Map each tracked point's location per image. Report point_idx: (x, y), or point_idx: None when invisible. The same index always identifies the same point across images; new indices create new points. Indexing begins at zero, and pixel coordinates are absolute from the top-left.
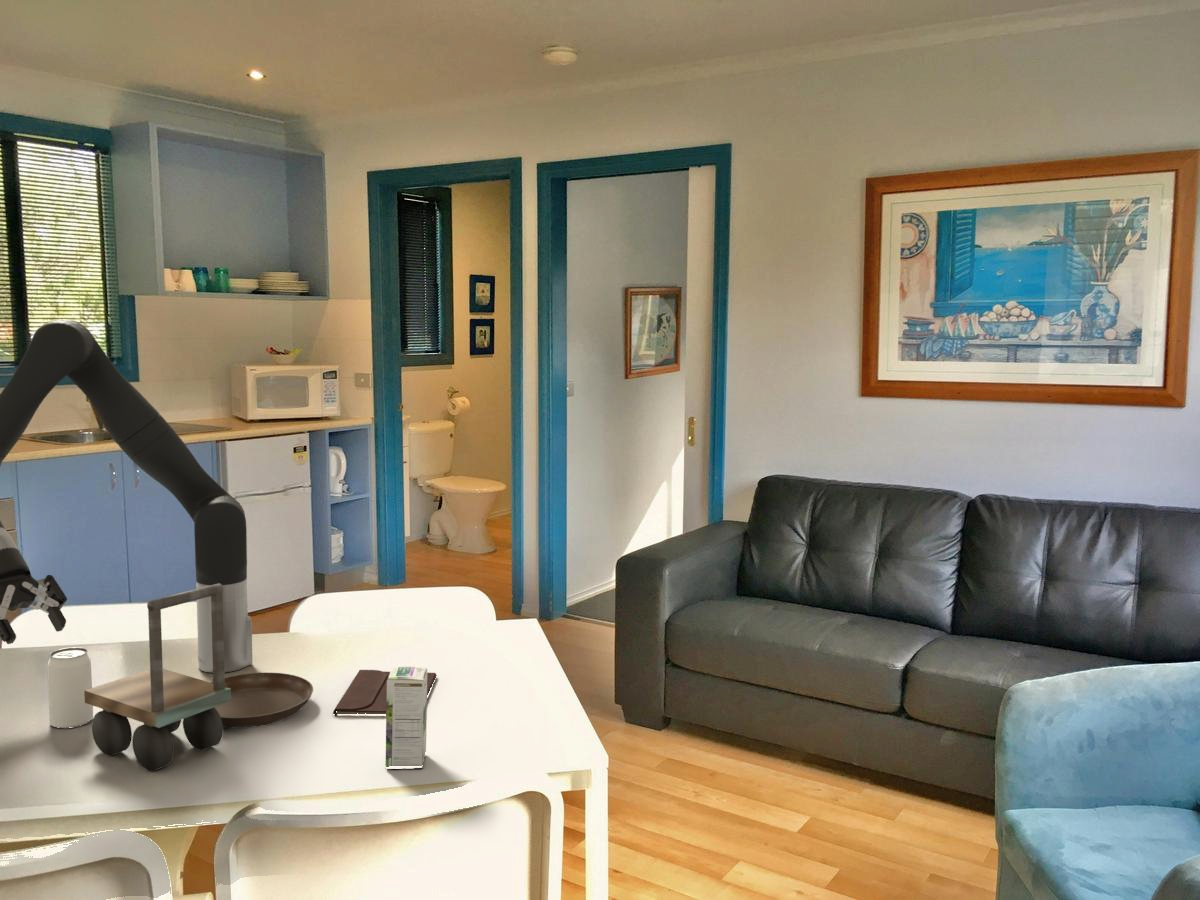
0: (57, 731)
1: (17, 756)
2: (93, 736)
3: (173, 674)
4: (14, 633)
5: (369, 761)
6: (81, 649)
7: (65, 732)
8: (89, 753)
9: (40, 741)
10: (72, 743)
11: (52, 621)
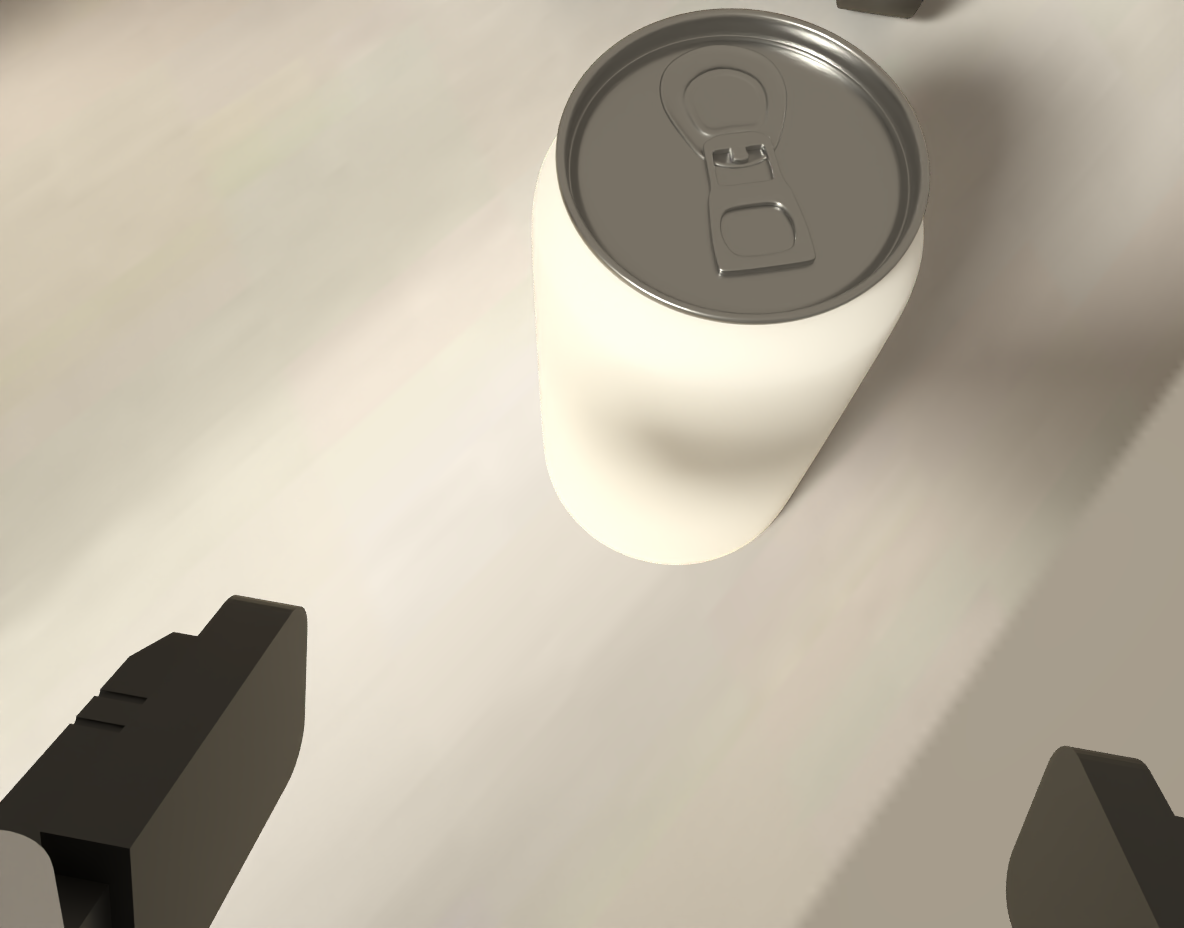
0: None
1: (1159, 330)
2: (919, 4)
3: None
4: (1098, 770)
5: None
6: (566, 166)
7: None
8: (930, 58)
9: (964, 381)
10: None
11: (221, 872)
